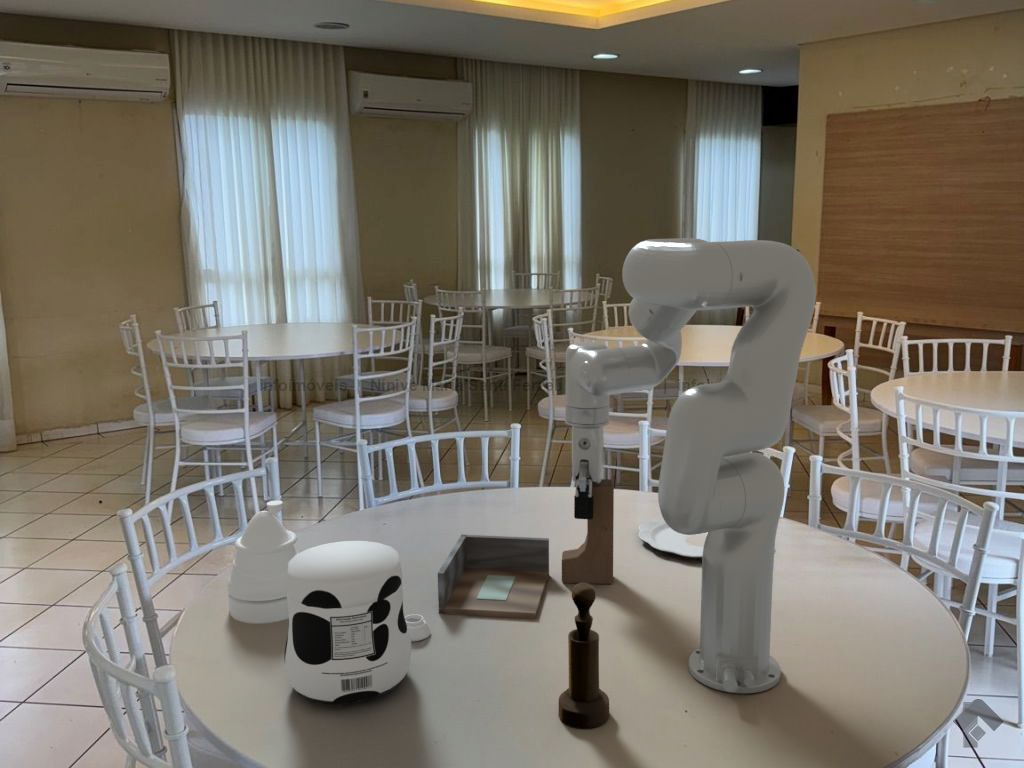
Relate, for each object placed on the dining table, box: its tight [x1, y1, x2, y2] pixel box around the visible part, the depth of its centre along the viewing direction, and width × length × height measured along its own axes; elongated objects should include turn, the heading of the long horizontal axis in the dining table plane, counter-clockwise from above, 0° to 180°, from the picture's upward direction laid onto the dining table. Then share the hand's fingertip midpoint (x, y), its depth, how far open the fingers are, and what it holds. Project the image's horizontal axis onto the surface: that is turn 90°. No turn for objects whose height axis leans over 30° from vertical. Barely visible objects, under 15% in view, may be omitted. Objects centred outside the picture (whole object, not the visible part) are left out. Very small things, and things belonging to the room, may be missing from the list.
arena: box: [437, 534, 550, 620], centre depth 151 cm, size 18×16×7 cm
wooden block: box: [561, 478, 615, 585], centre depth 156 cm, size 9×4×18 cm, turn 85°
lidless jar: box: [404, 613, 431, 642], centre depth 137 cm, size 5×3×5 cm
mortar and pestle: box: [558, 582, 610, 730], centre depth 112 cm, size 7×6×18 cm
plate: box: [638, 515, 707, 560], centre depth 175 cm, size 25×25×2 cm
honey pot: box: [227, 500, 299, 625], centre depth 147 cm, size 13×13×18 cm
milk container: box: [283, 540, 412, 705], centre depth 122 cm, size 17×17×18 cm
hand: (586, 509), depth 155 cm, fingers open, 9 cm apart
